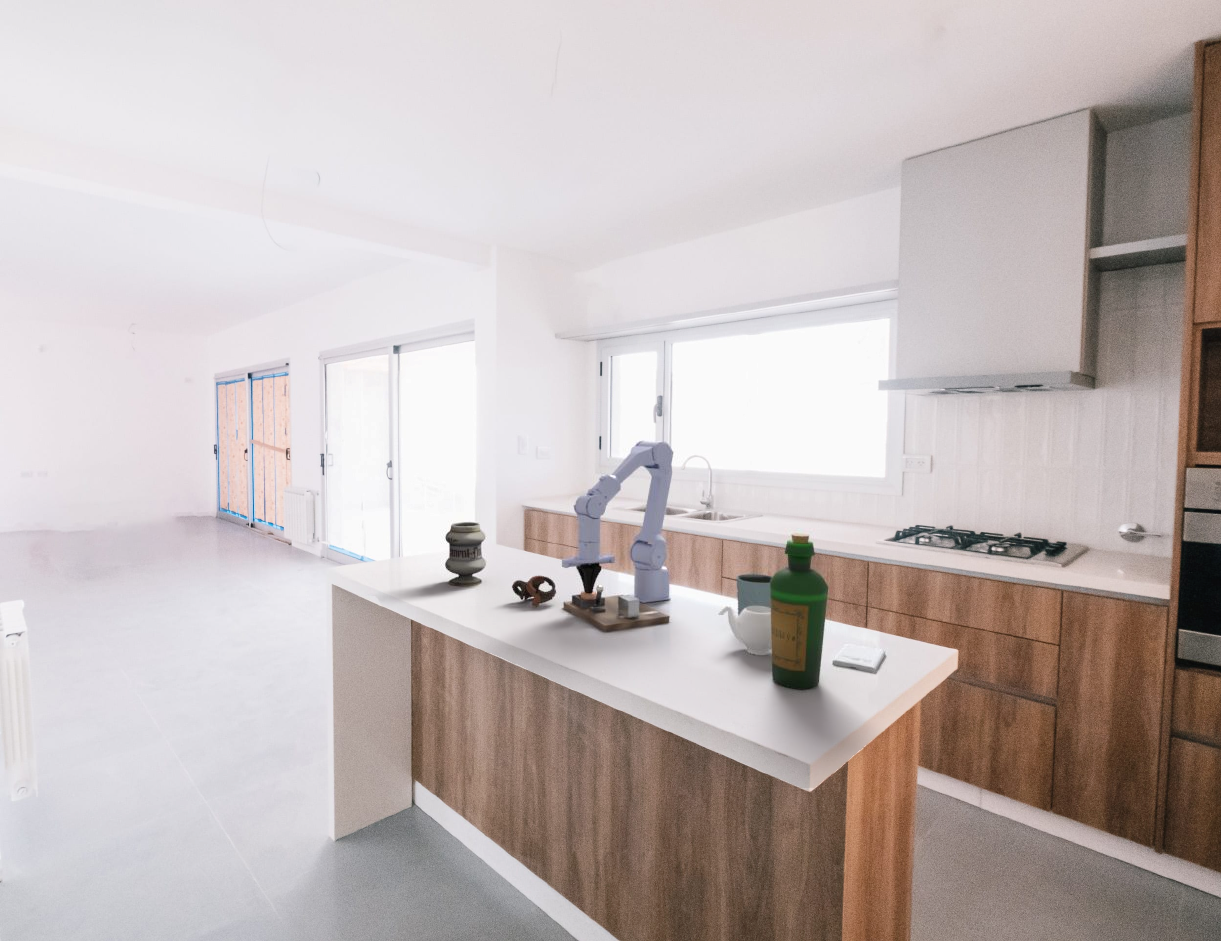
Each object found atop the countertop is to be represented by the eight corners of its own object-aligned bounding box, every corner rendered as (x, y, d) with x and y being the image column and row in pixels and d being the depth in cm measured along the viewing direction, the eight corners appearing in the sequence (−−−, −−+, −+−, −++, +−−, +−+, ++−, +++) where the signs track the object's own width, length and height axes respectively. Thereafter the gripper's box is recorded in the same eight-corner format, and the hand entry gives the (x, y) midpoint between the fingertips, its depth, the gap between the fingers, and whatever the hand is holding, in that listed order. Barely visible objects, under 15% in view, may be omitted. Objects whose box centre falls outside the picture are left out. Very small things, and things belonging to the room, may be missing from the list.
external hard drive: (885, 657, 140) (874, 675, 129) (845, 650, 144) (832, 666, 133) (885, 649, 139) (875, 667, 129) (845, 642, 144) (832, 658, 133)
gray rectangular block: (628, 611, 163) (628, 594, 163) (638, 616, 159) (639, 599, 158) (618, 612, 161) (618, 596, 161) (628, 618, 157) (628, 600, 157)
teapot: (728, 636, 150) (729, 596, 149) (811, 657, 137) (813, 613, 136) (706, 646, 143) (707, 604, 142) (791, 669, 130) (793, 623, 129)
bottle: (758, 671, 128) (763, 530, 127) (811, 670, 129) (816, 530, 127) (777, 693, 118) (782, 539, 116) (834, 692, 119) (840, 539, 117)
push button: (591, 599, 173) (591, 590, 173) (598, 603, 170) (598, 593, 169) (578, 601, 171) (578, 591, 171) (584, 604, 168) (584, 595, 167)
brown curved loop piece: (553, 598, 183) (560, 576, 179) (548, 622, 175) (555, 599, 171) (511, 588, 182) (517, 565, 178) (505, 611, 174) (511, 588, 170)
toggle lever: (599, 604, 165) (602, 583, 163) (602, 608, 164) (605, 586, 162) (592, 605, 164) (595, 584, 162) (595, 608, 163) (598, 587, 161)
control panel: (622, 600, 181) (622, 587, 180) (669, 622, 161) (669, 608, 160) (563, 607, 172) (563, 594, 172) (604, 631, 152) (605, 617, 152)
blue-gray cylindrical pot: (729, 629, 156) (731, 579, 155) (742, 618, 165) (743, 571, 164) (772, 635, 151) (773, 584, 150) (782, 624, 160) (784, 576, 159)
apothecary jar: (438, 585, 193) (438, 525, 192) (454, 577, 205) (454, 520, 204) (477, 588, 191) (477, 527, 190) (491, 579, 203) (491, 521, 202)
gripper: (606, 536, 176) (605, 586, 177) (557, 540, 169) (556, 591, 170) (619, 540, 170) (618, 592, 171) (568, 544, 163) (568, 598, 164)
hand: (588, 592), depth 170 cm, fingers closed
